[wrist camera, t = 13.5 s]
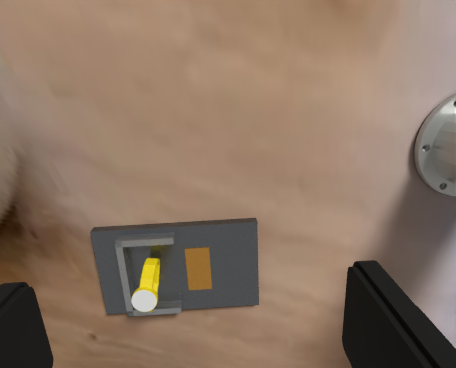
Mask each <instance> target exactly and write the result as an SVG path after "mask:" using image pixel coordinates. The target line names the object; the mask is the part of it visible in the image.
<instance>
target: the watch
mask: <svg viewBox="0 0 456 368" xmlns="http://www.w3.org/2000/svg"><path fill="white" fill-rule="evenodd" d="M159 273H160V259H159V258H147V259H146V261H145V263H144V266H143V270H142V274H141V279H140V286H139V288H138V289H136V290H135V292H134V293H133V295H132V299H131V301H132V305H133V307H134V308H135V309H137V310H139V311H140V312H152V311H153V310H154V308H155V306H156V305H157V302H158V294H157V293H158V286H159Z"/></svg>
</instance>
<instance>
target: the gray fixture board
mask: <svg viewBox="0 0 456 368" xmlns="http://www.w3.org/2000/svg"><path fill="white" fill-rule="evenodd" d="M90 233H91V238H92V243H93V248H94V253H95V258H96V263H97V268H98V273H99V278H100V283H101V288H102V293H103V297H104V302H105V307H106V312H107V314H121V313H127V316H144V315H159V314H175V313H182V310H183V309H199V308H214V307H230V306H245V305H259V287H258V238H257V220H256V218H247V219H230V220H213V221H196V222H179V223H162V224H145V225H128V226H111V227H94V228H93V229H92V230H91V232H90ZM147 258H159V259H160V273H159V286H158V293H157V294H158V302H157V305H156V306H155V308H154V310H153V311H152V312H140V311H139V310H137V309H135V308H134V307H133V305H132V301H131V299H132V295H133V293H134V292H135V290H136V289H138V288H139V286H140V279H141V274H142V270H143V266H144V263H145V261H146V259H147Z"/></svg>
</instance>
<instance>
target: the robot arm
mask: <svg viewBox="0 0 456 368" xmlns="http://www.w3.org/2000/svg"><path fill="white" fill-rule="evenodd" d="M414 159H415V164H416V168H417V171H418V173H419V175H420V177H421V178H422V179H423V180H424V182H425V183H426V184H427V185H429V186H430V187H431V188H432V189H434V190H436V191H438V192H440V193H443V194H446V195H449V196H456V94H454V95H452V96H451V97H449V98H447V99H446V100H444V101H443V102H441V103H440V104H439V105H438V106H437V107H436V108H435V109H434V110H433V111H432V112H431V113H430V115H429V116H428V117H427V118H426V120H425V121H424V123H423V125H422V127H421V128H420V131H419V133H418V136H417V139H416V144H415V149H414ZM342 342H343V347H344V350H345V353H346V355H347V357H348V359H349V361H350V363H351V366H352V368H456V349H455V348H454V347H453V345H452V344H451V343H450V342H449V341H448V340H447V339H446V338H445V336H444V335H443V334H442V333H441V332H440V331H439V330H438V329H437V327H436V326H435V325H434V324H433V323H432V322H431V321H430V320H429V318H428V317H427V316H426V315H425V314H424V313H423V312H422V311H421V310H420V309H419V308H418V307H417V306H416V305H415V304H414V303H413V302H412V301H411V300H410V299H409V297H408V296H407V295H406V294H405V293H404V292H403V291H402V289H401V288H400V287H399V286H398V285H397V284H396V283H395V282H394V280H393V279H392V278H391V277H390V276H389V275H388V274H387V272H386V271H385V270H384V269H383V268H382V267H381V266H380V265H379V263H378V262H376V261H374V260H372V261H356V262H354V264H353V267H349V268H348V272H347V285H346V297H345V309H344V322H343V334H342ZM52 366H53V355H52V351H51V348H50V344H49V341H48V337H47V334H46V330H45V327H44V323H43V319H42V316H41V312H40V309H39V305H38V302H37V298H36V295H35V291H34V289H33V288H32V287H29V286H28V284H27V283H25V282H16V283H4V284H1V285H0V368H52Z"/></svg>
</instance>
